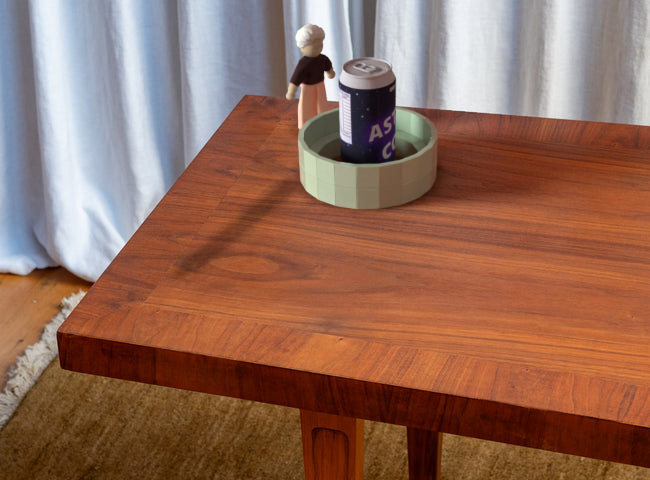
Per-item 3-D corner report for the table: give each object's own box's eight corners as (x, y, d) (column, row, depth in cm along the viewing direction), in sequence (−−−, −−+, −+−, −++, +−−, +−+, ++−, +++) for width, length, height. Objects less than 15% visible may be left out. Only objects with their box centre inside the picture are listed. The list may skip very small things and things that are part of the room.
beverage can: (371, 195, 90) (370, 83, 83) (330, 178, 93) (326, 68, 86) (405, 174, 93) (408, 64, 86) (365, 158, 97) (363, 51, 89)
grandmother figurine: (313, 148, 100) (307, 38, 92) (284, 141, 102) (276, 33, 94) (346, 121, 105) (343, 15, 97) (318, 115, 107) (313, 10, 99)
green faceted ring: (430, 148, 99) (432, 102, 96) (439, 214, 88) (442, 165, 84) (304, 151, 100) (302, 105, 96) (297, 217, 89) (294, 168, 85)
